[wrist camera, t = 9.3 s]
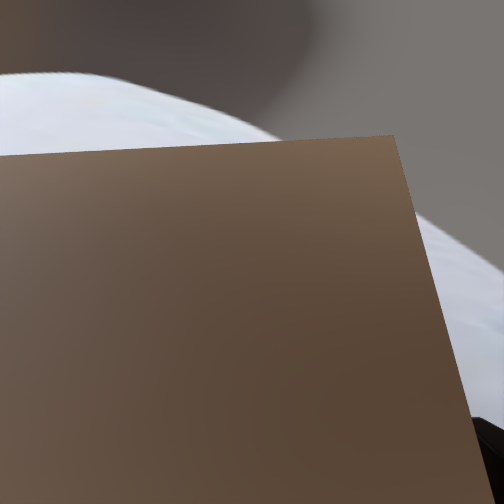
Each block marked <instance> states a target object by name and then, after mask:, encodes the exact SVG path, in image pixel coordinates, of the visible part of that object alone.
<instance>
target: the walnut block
mask: <svg viewBox="0 0 504 504" xmlns="http://www.w3.org/2000/svg"><path fill="white" fill-rule="evenodd" d="M0 504H495V501H494V498H493V494H492V491H491V487H490V483H489V480H488V476H487V472H486V469H485V465H484V462H483V458H482V454H481V451H480V447H479V443H478V440H477V436H476V433H475V429H474V425H473V422H472V418H471V414H470V411H469V407H468V404H467V400H466V396H465V393H464V389H463V385H462V382H461V378H460V375H459V371H458V367H457V364H456V360H455V356H454V353H453V349H452V346H451V342H450V338H449V335H448V331H447V327H446V324H445V320H444V317H443V313H442V309H441V306H440V302H439V298H438V295H437V291H436V288H435V284H434V280H433V277H432V273H431V269H430V266H429V262H428V259H427V255H426V251H425V248H424V244H423V240H422V237H421V233H420V230H419V226H418V222H417V219H416V215H415V211H414V208H413V204H412V201H411V197H410V193H409V190H408V186H407V182H406V179H405V175H404V172H403V168H402V164H401V161H400V157H399V153H398V150H397V146H396V143H395V139H394V136H393V135H391V136H371V137H354V138H353V137H352V138H333V139H315V140H296V141H275V142H256V143H237V144H218V145H199V146H180V147H161V148H141V149H122V150H103V151H84V152H65V153H46V154H27V155H7V156H0Z"/></svg>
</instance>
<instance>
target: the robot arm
mask: <svg viewBox="0 0 504 504" xmlns="http://www.w3.org/2000/svg"><path fill="white" fill-rule="evenodd" d="M471 418H472V422H473V425H474V429H475V433H476V436H477V440H478V443H479V447H480V451H481V454H482V458H483V462H484V465H485V469H486V472H487V476H488V480H489V483H490V487H491V491H492V494H493V498H494V501H495V504H504V430H503V429H501V428H499V427H497V426H495V425H494V424H492V423H490V422H488V421H486V420H484V419H483V418H480V417H471Z"/></svg>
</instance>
